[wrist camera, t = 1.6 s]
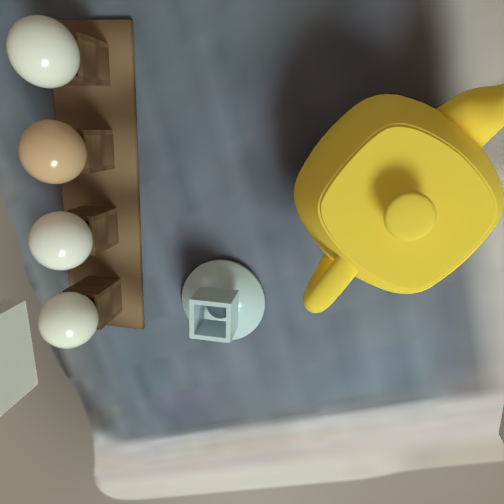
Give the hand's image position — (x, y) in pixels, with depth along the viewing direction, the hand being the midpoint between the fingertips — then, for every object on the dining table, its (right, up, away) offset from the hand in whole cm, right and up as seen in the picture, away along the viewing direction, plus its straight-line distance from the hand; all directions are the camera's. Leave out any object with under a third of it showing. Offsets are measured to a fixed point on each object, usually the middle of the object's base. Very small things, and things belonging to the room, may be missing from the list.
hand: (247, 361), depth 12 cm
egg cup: (-3, -2, +30) cm, 30 cm away
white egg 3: (-16, -3, +25) cm, 30 cm away
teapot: (+12, +9, +24) cm, 28 cm away
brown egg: (-15, +11, +21) cm, 28 cm away
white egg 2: (-15, +4, +23) cm, 28 cm away
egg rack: (-14, +9, +29) cm, 33 cm away
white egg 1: (-15, +17, +19) cm, 30 cm away
